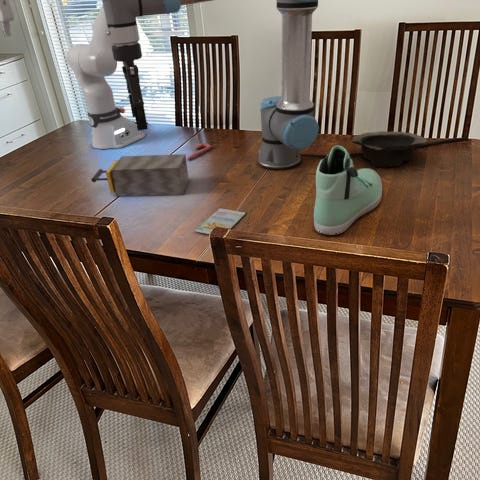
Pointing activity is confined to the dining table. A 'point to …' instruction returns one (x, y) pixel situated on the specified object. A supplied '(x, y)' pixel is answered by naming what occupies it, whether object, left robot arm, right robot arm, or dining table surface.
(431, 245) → the dining table surface
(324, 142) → the dining table surface
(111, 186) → the drawer
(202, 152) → the candy cane
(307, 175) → the dining table surface
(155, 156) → the grey zigzag patterned box
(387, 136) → the stone bowl
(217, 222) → the baking ingredient package
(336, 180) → the sneaker
